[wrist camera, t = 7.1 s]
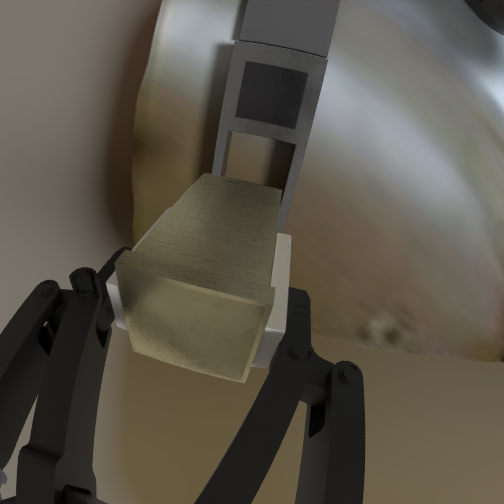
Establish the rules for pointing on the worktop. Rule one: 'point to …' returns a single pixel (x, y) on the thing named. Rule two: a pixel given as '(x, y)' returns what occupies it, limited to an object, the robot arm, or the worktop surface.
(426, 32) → the worktop surface
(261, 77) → the grey flat piece
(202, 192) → the tan block
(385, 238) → the worktop surface
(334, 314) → the worktop surface
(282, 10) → the pad
